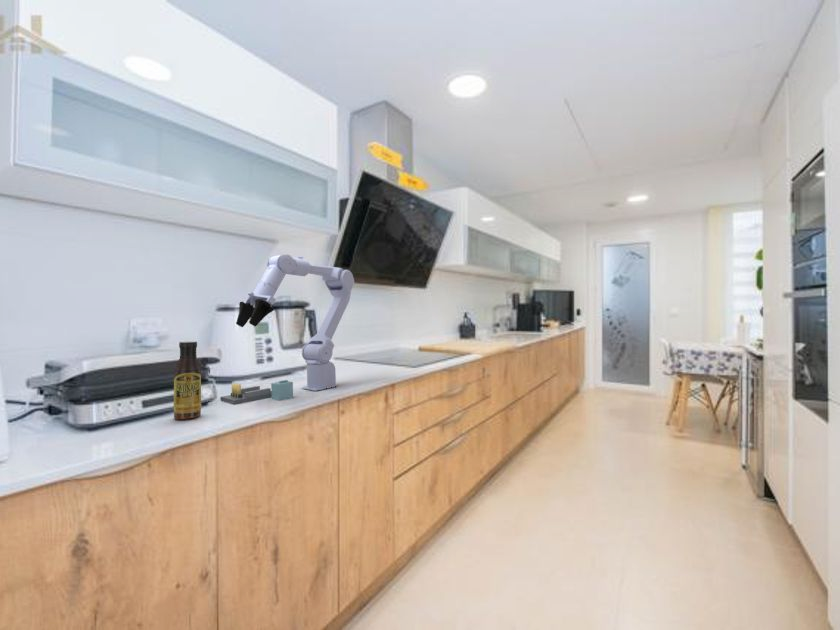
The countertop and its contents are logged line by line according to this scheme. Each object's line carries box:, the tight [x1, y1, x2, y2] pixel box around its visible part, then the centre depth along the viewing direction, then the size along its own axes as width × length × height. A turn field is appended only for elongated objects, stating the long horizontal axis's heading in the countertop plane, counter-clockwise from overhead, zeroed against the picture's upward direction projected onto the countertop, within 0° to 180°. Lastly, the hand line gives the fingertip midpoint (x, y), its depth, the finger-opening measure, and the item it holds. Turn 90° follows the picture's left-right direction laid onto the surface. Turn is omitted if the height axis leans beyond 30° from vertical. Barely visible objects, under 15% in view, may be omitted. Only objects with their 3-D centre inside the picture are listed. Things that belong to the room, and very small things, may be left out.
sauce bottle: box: [173, 340, 202, 421], centre depth 104 cm, size 6×6×20 cm
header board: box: [219, 382, 272, 406], centre depth 126 cm, size 14×9×5 cm, turn 141°
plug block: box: [270, 379, 294, 402], centre depth 124 cm, size 5×4×6 cm
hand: (245, 325), depth 117 cm, fingers open, 7 cm apart
